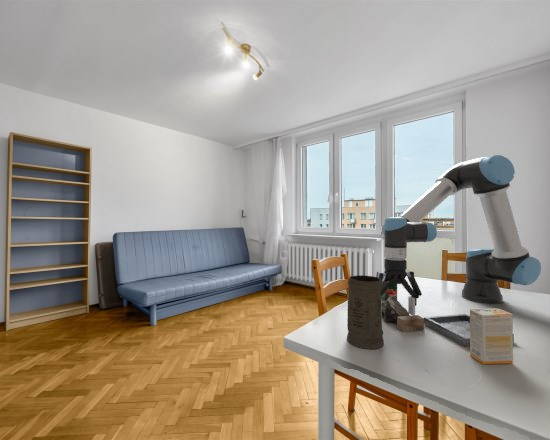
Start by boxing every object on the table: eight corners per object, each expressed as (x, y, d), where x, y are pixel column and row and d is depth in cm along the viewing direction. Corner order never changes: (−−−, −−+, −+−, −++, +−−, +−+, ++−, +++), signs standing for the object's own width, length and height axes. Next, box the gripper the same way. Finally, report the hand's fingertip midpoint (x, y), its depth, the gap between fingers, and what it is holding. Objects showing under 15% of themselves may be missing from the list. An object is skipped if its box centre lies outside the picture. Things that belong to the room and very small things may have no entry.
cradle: (389, 309, 110) (389, 300, 110) (424, 330, 90) (424, 318, 90) (371, 311, 108) (371, 301, 108) (402, 331, 89) (402, 320, 89)
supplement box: (497, 354, 74) (497, 307, 74) (513, 364, 69) (514, 314, 69) (468, 355, 74) (468, 308, 74) (482, 364, 69) (483, 314, 69)
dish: (465, 320, 98) (465, 314, 98) (513, 342, 81) (513, 334, 81) (423, 324, 95) (423, 317, 95) (465, 347, 78) (465, 338, 78)
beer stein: (379, 354, 74) (380, 282, 75) (341, 344, 80) (343, 277, 81) (388, 337, 87) (389, 275, 88) (355, 329, 93) (356, 271, 94)
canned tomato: (394, 309, 111) (394, 282, 111) (375, 305, 115) (375, 280, 115) (399, 304, 117) (399, 279, 117) (380, 300, 122) (380, 276, 122)
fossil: (416, 325, 93) (402, 299, 93) (392, 335, 95) (378, 310, 95) (408, 313, 103) (395, 290, 104) (385, 322, 105) (373, 299, 106)
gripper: (369, 261, 93) (369, 321, 93) (432, 259, 97) (432, 317, 98) (359, 258, 101) (359, 314, 101) (418, 256, 105) (418, 310, 105)
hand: (395, 315), depth 99 cm, fingers open, 13 cm apart
